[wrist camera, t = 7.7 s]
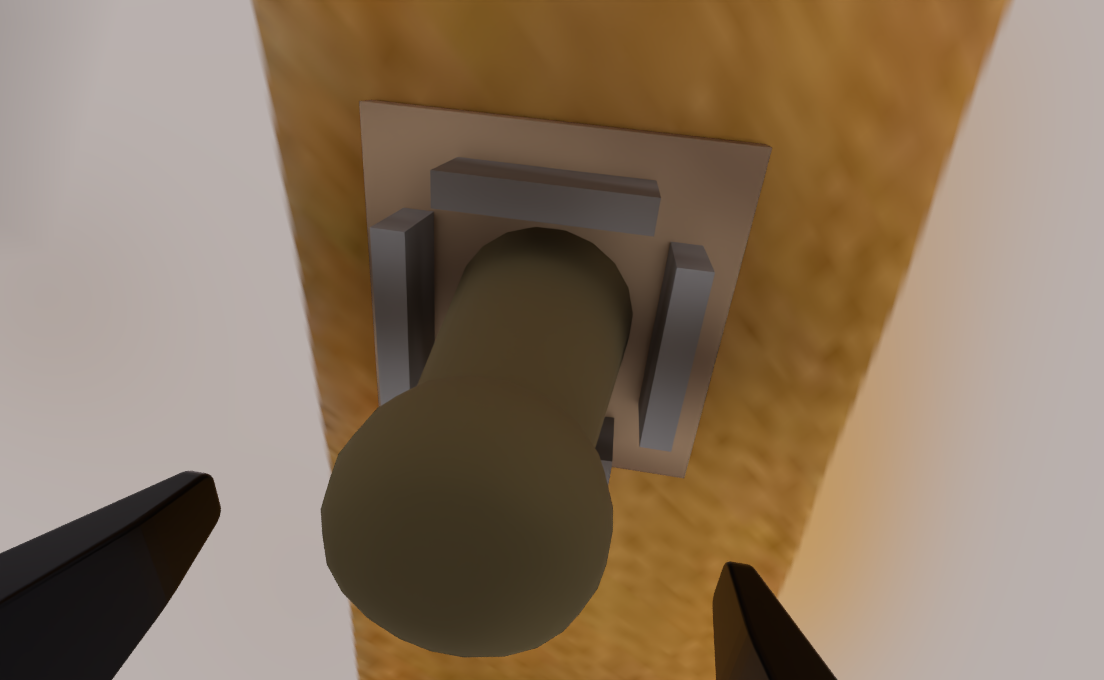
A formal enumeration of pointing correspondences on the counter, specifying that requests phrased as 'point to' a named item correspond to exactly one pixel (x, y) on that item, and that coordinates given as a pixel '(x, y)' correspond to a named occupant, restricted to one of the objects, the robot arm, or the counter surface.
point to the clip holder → (582, 209)
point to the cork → (490, 458)
